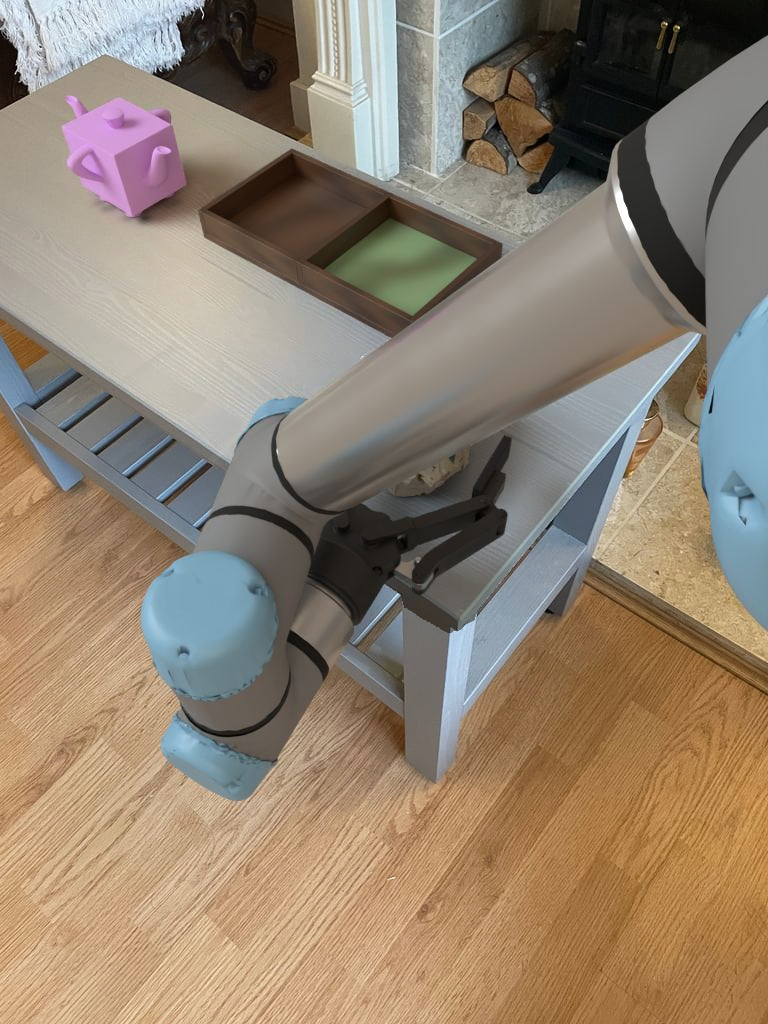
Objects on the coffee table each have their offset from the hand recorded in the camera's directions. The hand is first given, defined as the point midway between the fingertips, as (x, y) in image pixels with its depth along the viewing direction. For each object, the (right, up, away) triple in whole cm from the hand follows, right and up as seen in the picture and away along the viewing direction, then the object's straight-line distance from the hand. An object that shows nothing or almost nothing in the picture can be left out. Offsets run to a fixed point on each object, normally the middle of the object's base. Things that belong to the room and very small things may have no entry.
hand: (437, 419), depth 73 cm
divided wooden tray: (-9, +23, +23) cm, 34 cm away
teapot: (-37, +33, +31) cm, 58 cm away
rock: (0, -3, +5) cm, 6 cm away
